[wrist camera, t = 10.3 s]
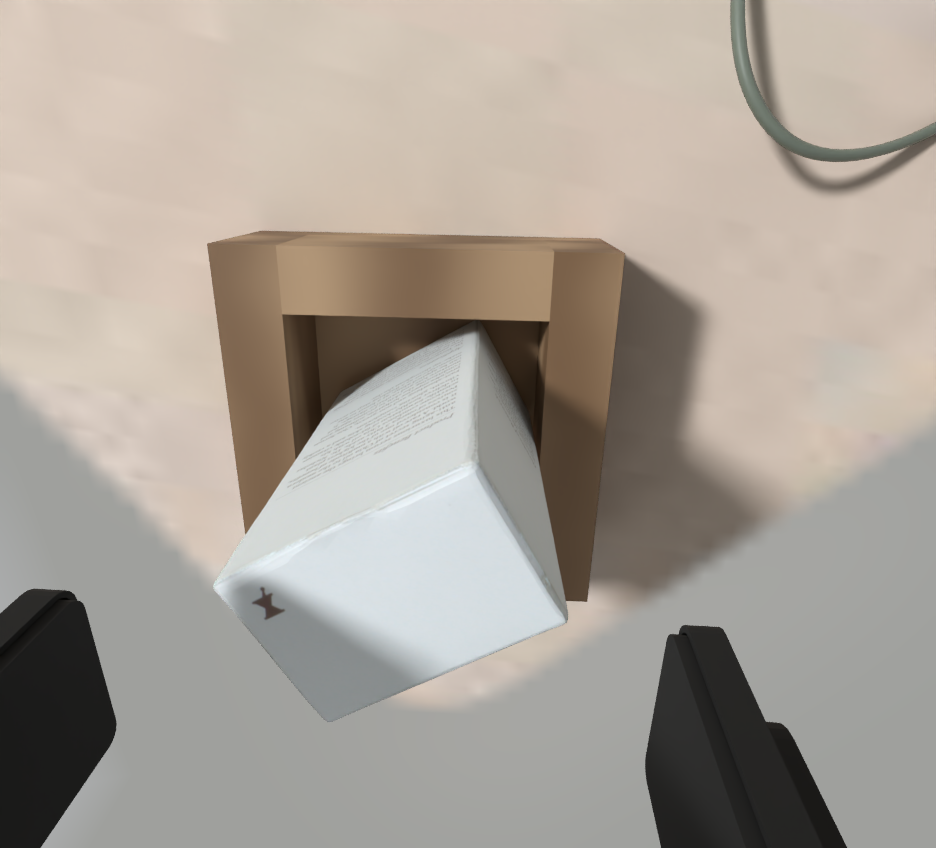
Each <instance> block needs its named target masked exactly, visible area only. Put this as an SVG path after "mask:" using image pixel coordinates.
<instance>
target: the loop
mask: <svg viewBox="0 0 936 848" xmlns="http://www.w3.org/2000/svg"><path fill="white" fill-rule="evenodd" d="M731 40H732V49H733V56H734V62H735V68H736V72H737V76H738V80H739V83H740V86H741V89H742V92H743V94H744V97H745V99H746V101H747V103H748V106H749V107H750V109H751V111H752V113H753V115H754V116H755V118H756V119H757V121H758V122H759V124H760V125H761V126H762V127H763V129H764V130H765V131H766V132H767V133H768V135H770V136H771V137H772V138H773V139H774V140H775V141H776V142H777V143H779V144H780V145H781V146H783V147H784V148H786V149H787V150H789V151H791V152H793V153H795V154H798V155H800V156H803V157H806V158H810V159H813V160H819V161H829V162H847V161H857V160H863V159H869V158H873V157H877V156H881V155H885V154H888V153H891V152H894V151H897V150H900V149H903V148H906V147H908V146H911V145H913V144H916V143H918V142H920V141H922V140H925V139H927V138H929V137H931V136H933V135H935V134H936V122H935V123H933V124H931V125H929V126H927V127H925V128H923V129H921V130H919V131H916V132H914V133H912V134H910V135H907V136H905V137H902V138H899V139H896V140H894V141H890V142H887V143H884V144H880V145H876V146H872V147H866V148H859V149H843V150H840V149H829V148H823V147H819V146H815V145H812V144H810V143H807V142H805V141H803V140H801V139H799V138H797V137H796V136H794V135H793V134H791V133H790V132H789V131H787V130H786V129H785V128H784V127H783V126H782V125H781V124H780V123H779V122H778V120H777V119H776V118H775V117H774V116H773V114H772V113H771V111H770V110H769V108H768V107H767V105H766V103H765V101H764V100H763V98H762V96H761V94H760V91H759V89H758V87H757V84H756V81H755V78H754V75H753V72H752V68H751V64H750V60H749V54H748V48H747V39H746V26H745V0H731Z"/></svg>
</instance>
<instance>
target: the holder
mask: <svg viewBox="0 0 936 848" xmlns="http://www.w3.org/2000/svg"><path fill="white" fill-rule="evenodd" d="M207 246H208V253H209V261H210V269H211V276H212V284H213V291H214V299H215V307H216V314H217V322H218V329H219V337H220V345H221V352H222V360H223V367H224V375H225V383H226V390H227V398H228V405H229V413H230V421H231V428H232V436H233V443H234V451H235V459H236V466H237V474H238V481H239V489H240V497H241V504H242V512H243V519H244V527H245V535H246V533H247V532H248V530H249V529H250V527H251V526H252V524H253V523H254V521H255V520H256V518H257V517H258V516H259V514H260V513H261V511H262V510H263V508H264V507H265V505H266V504H267V502H268V501H269V499H270V498H271V496H272V495H273V493H274V492H275V490H276V489H277V487H278V486H279V484H280V483H281V481H282V479H283V478H284V477H285V475H286V474H287V472H288V471H289V469H290V468H291V466H292V465H293V463H294V462H295V460H296V459H297V457H298V456H299V454H300V453H301V451H302V450H303V448H304V447H305V445H306V444H307V442H308V441H309V439H310V438H311V436H312V434H313V433H314V431H315V430H316V428H317V427H318V425H319V424H320V422H321V421H322V419H323V418H324V416H325V415H326V413H327V412H328V410H329V409H330V407H331V406H332V404H333V403H334V401H335V400H336V398H337V397H338V395H339V394H340V393H341V392H342V391H343V390H345V389H347V388H349V387H351V386H353V385H355V384H357V383H359V382H360V381H362V380H364V379H366V378H368V377H370V376H372V375H373V374H375V373H377V372H379V371H381V370H383V369H384V368H386V367H388V366H390V365H392V364H394V363H396V362H398V361H399V360H401V359H403V358H405V357H407V356H409V355H410V354H412V353H414V352H416V351H418V350H420V349H422V348H424V347H426V346H427V345H429V344H431V343H433V342H435V341H437V340H439V339H440V338H442V337H444V336H446V335H448V334H450V333H452V332H454V331H455V330H457V329H459V328H461V327H463V326H465V325H467V324H469V323H470V322H472V321H474V320H479V321H480V322H481V323H482V325H483V327H484V328H485V330H486V332H487V334H488V336H489V338H490V340H491V341H492V343H493V345H494V347H495V349H496V351H497V353H498V355H499V356H500V358H501V360H502V362H503V364H504V366H505V368H506V370H507V372H508V374H509V376H510V378H511V379H512V381H513V383H514V385H515V387H516V389H517V391H518V393H519V395H520V397H521V398H522V400H523V402H524V404H525V406H526V408H527V410H528V411H529V415H530V420H531V425H532V430H533V436H534V441H535V446H536V451H537V456H538V461H539V466H540V472H541V477H542V482H543V487H544V493H545V498H546V503H547V508H548V513H549V518H550V523H551V528H552V533H553V538H554V544H555V549H556V554H557V559H558V564H559V569H560V574H561V579H562V584H563V589H564V595H565V600H566V601H584V602H587V598H588V589H589V580H590V570H591V561H592V552H593V543H594V534H595V524H596V515H597V506H598V497H599V488H600V478H601V469H602V460H603V451H604V442H605V433H606V423H607V414H608V405H609V396H610V387H611V377H612V368H613V359H614V350H615V341H616V331H617V322H618V313H619V304H620V295H621V286H622V276H623V267H624V258H625V253H623V252H622V251H620V250H618V249H616V248H615V247H613V246H611V245H610V244H608V243H606V242H605V241H603V240H601V239H592V238H548V237H505V236H461V235H417V234H373V233H330V232H286V231H259V232H254V233H250V234H246V235H242V236H238V237H233V238H229V239H225V240H221V241H216V242H212V243H208V244H207Z"/></svg>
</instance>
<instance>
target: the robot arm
mask: <svg viewBox="0 0 936 848" xmlns="http://www.w3.org/2000/svg"><path fill="white" fill-rule="evenodd" d="M115 732H116V718H115V715H114V711H113V708H112V704H111V700H110V697H109V693H108V690H107V686H106V682H105V679H104V675H103V671H102V668H101V665H100V660H99V657H98V653H97V650H96V646H95V642H94V639H93V635H92V632H91V628H90V624H89V621H88V617H87V613H86V610H85V607H84V605H83V603H82V602H80V601H77V599H76V597H75V595H74V594H73V593H72V592H70V591H65V590H64V591H62V590H46V589H31V590H28V591H26V592H25V593H23V594H22V595H21V596H19V597H18V598H17V599H16V600H15V601H14V602H13V603H12V604H10V605H9V606H8V607H7V608H6V609H5V610H4V611H3V612H2V613H0V848H41V846H42V845H43V843H44V842H45V840H46V839H47V837H48V836H49V834H50V833H51V831H52V830H53V829H54V827H55V826H56V824H57V823H58V821H59V820H60V818H61V817H62V815H63V814H64V812H65V811H66V810H67V808H68V806H69V805H70V804H71V802H72V801H73V799H74V798H75V796H76V795H77V793H78V792H79V791H80V789H81V788H82V786H83V785H84V783H85V782H86V780H87V779H88V777H89V776H90V774H91V773H92V772H93V770H94V769H95V767H96V766H97V764H98V763H99V761H100V760H101V758H102V757H103V755H104V754H105V753H106V751H107V750H108V748H109V747H110V745H111V743H112V741H113V738H114V736H115ZM645 769H646V779H647V785H648V790H649V794H650V799H651V803H652V808H653V812H654V817H655V821H656V825H657V830H658V834H659V840H660V844H661V848H847V847H846V845H845V843H844V841H843V838H842V836H841V835H840V833H839V830H838V828H837V826H836V824H835V822H834V820H833V818H832V816H831V814H830V812H829V810H828V808H827V806H826V804H825V802H824V800H823V798H822V796H821V794H820V792H819V789H818V787H817V785H816V783H815V781H814V779H813V777H812V775H811V773H810V771H809V769H808V767H807V765H806V763H805V761H804V759H803V757H802V755H801V753H800V751H799V749H798V747H797V745H796V742H795V740H794V739H793V737H792V735H791V734H790V732H789V731H788V729H787V728H786V727H785V726H784V725H782V724H780V723H773V722H766V721H765V719H764V717H763V715H762V713H761V710H760V709H759V706H758V704H757V702H756V699H755V697H754V695H753V693H752V691H751V688H750V686H749V685H748V682H747V680H746V678H745V675H744V673H743V671H742V669H741V667H740V664H739V662H738V660H737V658H736V655H735V653H734V651H733V649H732V647H731V645H730V642H729V640H728V638H727V636H726V634H725V632H724V630H723V629H722V628H720V627H708V626H688V625H684V626H682V627H681V628H680V631H679V635H676V634H670V635H669V636H668V638H667V642H666V648H665V653H664V659H663V664H662V669H661V675H660V681H659V686H658V692H657V697H656V702H655V708H654V714H653V719H652V725H651V730H650V736H649V741H648V747H647V752H646V760H645Z"/></svg>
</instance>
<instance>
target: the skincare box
mask: <svg viewBox="0 0 936 848" xmlns="http://www.w3.org/2000/svg"><path fill="white" fill-rule="evenodd" d="M213 588H214V590H215V591H216V593H217V594H218V595H219V596H220V597H221V598H222V599H223V601H224V602H225V603H226V604H227V605H228V606H229V608H230V609H231V610H232V611H233V612H234V613H235V615H236V616H237V617H238V618H239V619H240V620H241V622H242V623H243V624H244V625H245V626H246V628H247V629H248V630H249V631H250V632H251V634H252V635H253V636H254V637H255V638H256V639H257V641H258V642H259V643H260V644H261V646H262V647H263V648H264V649H265V650H266V652H267V653H268V654H269V655H270V657H271V658H272V659H273V660H274V661H275V662H276V664H277V665H278V666H279V668H280V669H281V670H282V671H283V672H284V674H285V675H286V676H287V677H288V678H289V680H290V681H291V682H292V683H293V684H294V686H295V687H296V688H297V689H298V690H299V692H300V693H301V694H302V695H303V696H304V698H305V699H306V700H307V701H308V702H309V703H310V704H311V706H312V707H313V708H314V709H315V710H316V711H317V712H318V713H319V715H321V717H322V718H323V719H324V720H326V721H327V722H333V721H335V720H337V719H339V718H342V717H344V716H346V715H349V714H351V713H353V712H355V711H358V710H360V709H362V708H365V707H367V706H369V705H372V704H374V703H376V702H379V701H381V700H384V699H386V698H389V697H391V696H394V695H396V694H398V693H400V692H403V691H405V690H407V689H410V688H412V687H415V686H417V685H419V684H422V683H424V682H427V681H429V680H431V679H434V678H436V677H438V676H441V675H443V674H445V673H448V672H450V671H452V670H455V669H457V668H459V667H462V666H464V665H467V664H469V663H471V662H474V661H476V660H478V659H481V658H483V657H485V656H488V655H490V654H493V653H495V652H497V651H500V650H502V649H505V648H507V647H509V646H512V645H514V644H517V643H519V642H521V641H524V640H526V639H528V638H531V637H533V636H535V635H538V634H540V633H543V632H545V631H548V630H550V629H553V628H556V627H558V626H561V625H563V624H565V623H566V622H567V620H568V610H567V605H566V600H565V595H564V589H563V584H562V579H561V574H560V569H559V564H558V559H557V554H556V549H555V544H554V538H553V533H552V528H551V523H550V518H549V513H548V508H547V503H546V498H545V493H544V487H543V482H542V477H541V472H540V466H539V461H538V456H537V451H536V446H535V441H534V436H533V430H532V425H531V420H530V415H529V411H528V410H527V408H526V406H525V404H524V402H523V400H522V398H521V397H520V395H519V393H518V391H517V389H516V387H515V385H514V383H513V381H512V379H511V378H510V376H509V374H508V372H507V370H506V368H505V366H504V364H503V362H502V360H501V358H500V356H499V355H498V353H497V351H496V349H495V347H494V345H493V343H492V341H491V340H490V338H489V336H488V334H487V332H486V330H485V328H484V327H483V325H482V323H481V322H480V321H479V320H474V321H472V322H470V323H469V324H467V325H465V326H463V327H461V328H459V329H457V330H455V331H454V332H452V333H450V334H448V335H446V336H444V337H442V338H440V339H439V340H437V341H435V342H433V343H431V344H429V345H427V346H426V347H424V348H422V349H420V350H418V351H416V352H414V353H412V354H410V355H409V356H407V357H405V358H403V359H401V360H399V361H398V362H396V363H394V364H392V365H390V366H388V367H386V368H384V369H383V370H381V371H379V372H377V373H375V374H373V375H372V376H370V377H368V378H366V379H364V380H362V381H360V382H359V383H357V384H355V385H353V386H351V387H349V388H347V389H345V390H343V391H342V392H341V393H340V394H339V395H338V397H337V398H336V400H335V401H334V403H333V404H332V406H331V407H330V409H329V410H328V412H327V413H326V415H325V416H324V418H323V419H322V421H321V422H320V424H319V425H318V427H317V428H316V430H315V431H314V433H313V434H312V436H311V438H310V439H309V441H308V442H307V444H306V445H305V447H304V448H303V450H302V451H301V453H300V454H299V456H298V457H297V459H296V460H295V462H294V463H293V465H292V466H291V468H290V469H289V471H288V472H287V474H286V475H285V477H284V478H283V479H282V481H281V483H280V484H279V486H278V487H277V489H276V490H275V492H274V493H273V495H272V496H271V498H270V499H269V501H268V502H267V504H266V505H265V507H264V508H263V510H262V511H261V513H260V514H259V516H258V517H257V518H256V520H255V521H254V523H253V524H252V526H251V527H250V529H249V530H248V532H247V533H246V535H245V536H244V538H243V539H242V541H241V542H240V544H239V545H238V547H237V548H236V550H235V551H234V553H233V554H232V556H231V558H230V559H229V561H228V562H227V564H226V565H225V567H224V568H223V570H222V571H221V573H220V574H219V576H218V578H217V579H216V581H215V583H214V587H213Z"/></svg>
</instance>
